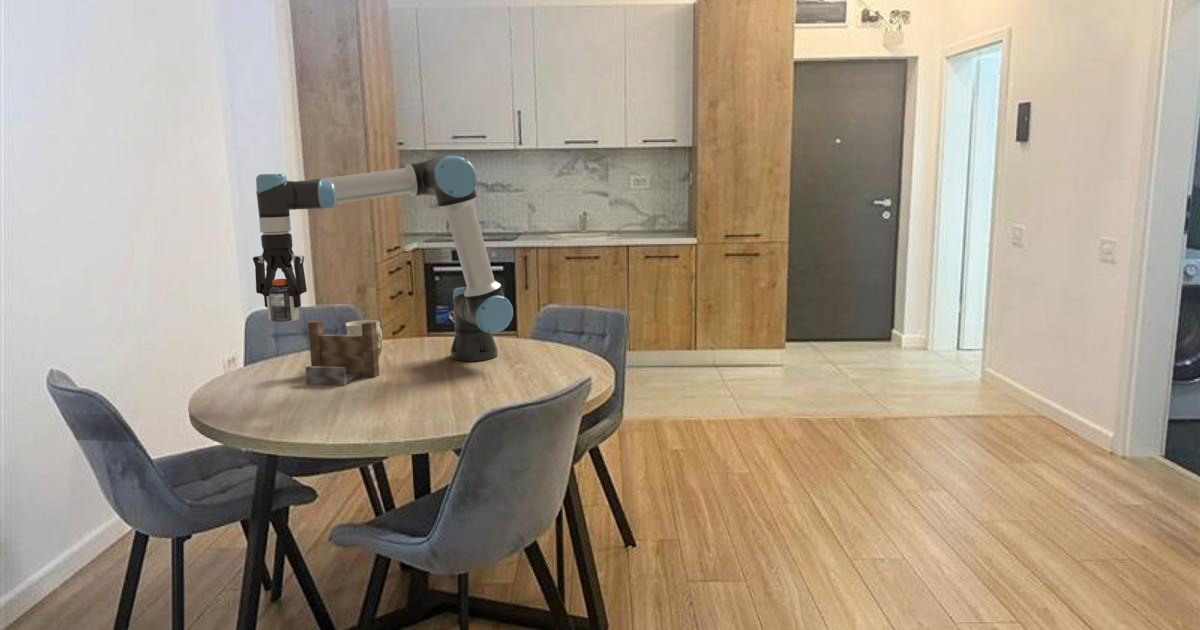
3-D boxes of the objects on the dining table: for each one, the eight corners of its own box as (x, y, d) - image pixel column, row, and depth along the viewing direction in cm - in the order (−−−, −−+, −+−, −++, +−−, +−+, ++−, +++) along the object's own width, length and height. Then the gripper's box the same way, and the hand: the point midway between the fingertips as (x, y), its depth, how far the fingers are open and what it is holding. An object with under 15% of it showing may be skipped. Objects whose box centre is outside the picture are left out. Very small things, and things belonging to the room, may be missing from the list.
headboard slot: (379, 374, 231) (375, 321, 229) (358, 386, 219) (354, 330, 216) (317, 372, 235) (313, 320, 232) (293, 383, 222) (288, 328, 220)
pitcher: (397, 357, 254) (394, 316, 252) (366, 370, 237) (363, 326, 235) (367, 356, 257) (364, 315, 255) (335, 368, 240) (331, 325, 238)
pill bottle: (290, 318, 214) (287, 277, 212) (299, 320, 209) (296, 278, 208) (268, 321, 210) (264, 279, 208) (277, 323, 205) (273, 281, 204)
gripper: (316, 231, 208) (323, 317, 212) (252, 232, 211) (260, 316, 215) (301, 233, 200) (309, 322, 204) (234, 234, 204) (243, 321, 208)
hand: (284, 319), depth 210 cm, fingers closed on pill bottle, 6 cm apart
